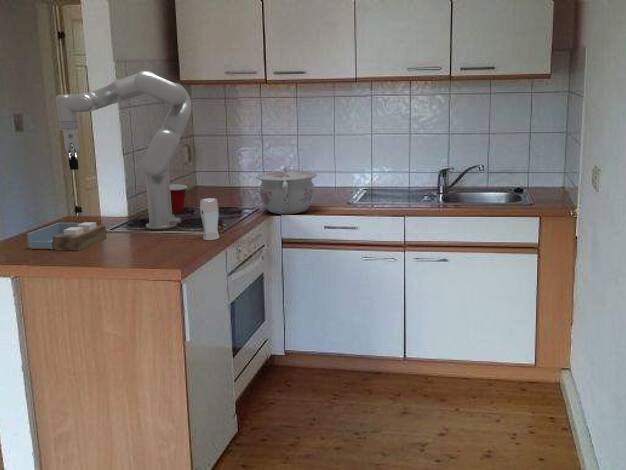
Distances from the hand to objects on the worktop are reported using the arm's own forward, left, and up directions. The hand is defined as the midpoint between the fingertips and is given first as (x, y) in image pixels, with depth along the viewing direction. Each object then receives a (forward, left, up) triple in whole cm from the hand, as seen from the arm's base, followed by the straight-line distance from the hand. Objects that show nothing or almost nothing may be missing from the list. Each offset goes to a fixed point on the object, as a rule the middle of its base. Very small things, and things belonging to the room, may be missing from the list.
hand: (74, 168), depth 282 cm
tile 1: (-14, +18, -21) cm, 31 cm away
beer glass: (-61, +8, -26) cm, 67 cm away
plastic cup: (-23, -44, -26) cm, 56 cm away
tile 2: (-14, +27, -21) cm, 37 cm away
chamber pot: (-76, -46, -26) cm, 93 cm away
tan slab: (-14, +22, -26) cm, 37 cm away
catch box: (-3, +22, -26) cm, 34 cm away
